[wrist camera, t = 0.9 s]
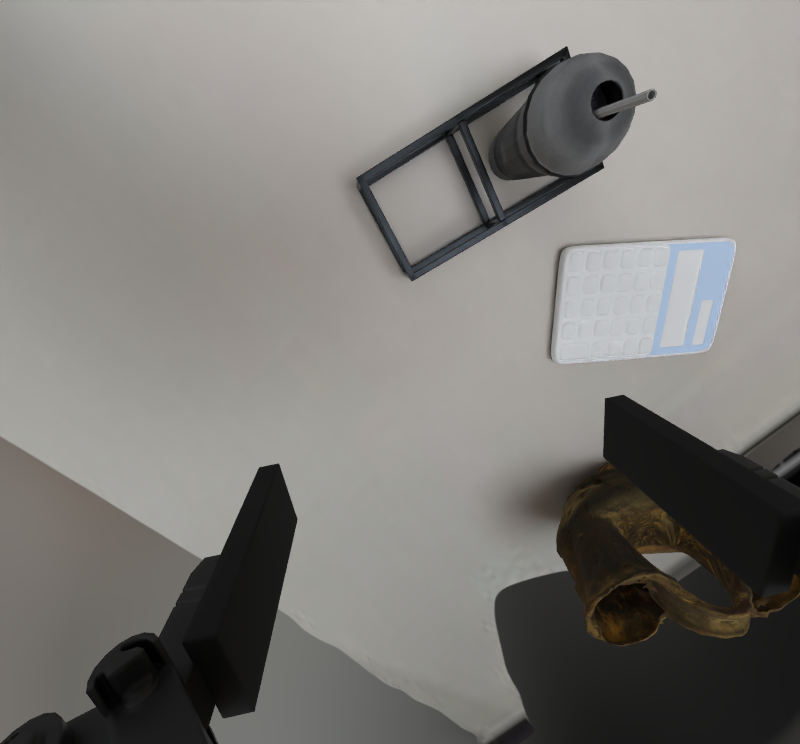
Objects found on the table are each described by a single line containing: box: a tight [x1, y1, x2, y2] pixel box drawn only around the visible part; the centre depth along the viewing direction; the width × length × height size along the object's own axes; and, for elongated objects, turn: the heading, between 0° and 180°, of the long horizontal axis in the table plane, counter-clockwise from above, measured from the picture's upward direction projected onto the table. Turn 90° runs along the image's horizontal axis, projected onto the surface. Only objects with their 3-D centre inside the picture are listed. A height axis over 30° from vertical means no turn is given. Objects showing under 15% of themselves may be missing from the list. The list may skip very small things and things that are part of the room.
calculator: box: [551, 238, 736, 364], centre depth 43 cm, size 13×20×2 cm, turn 93°
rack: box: [356, 46, 604, 281], centre depth 35 cm, size 10×20×5 cm, turn 119°
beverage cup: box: [489, 53, 657, 180], centre depth 28 cm, size 7×7×20 cm
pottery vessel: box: [556, 463, 800, 646], centre depth 43 cm, size 25×11×20 cm, turn 97°
